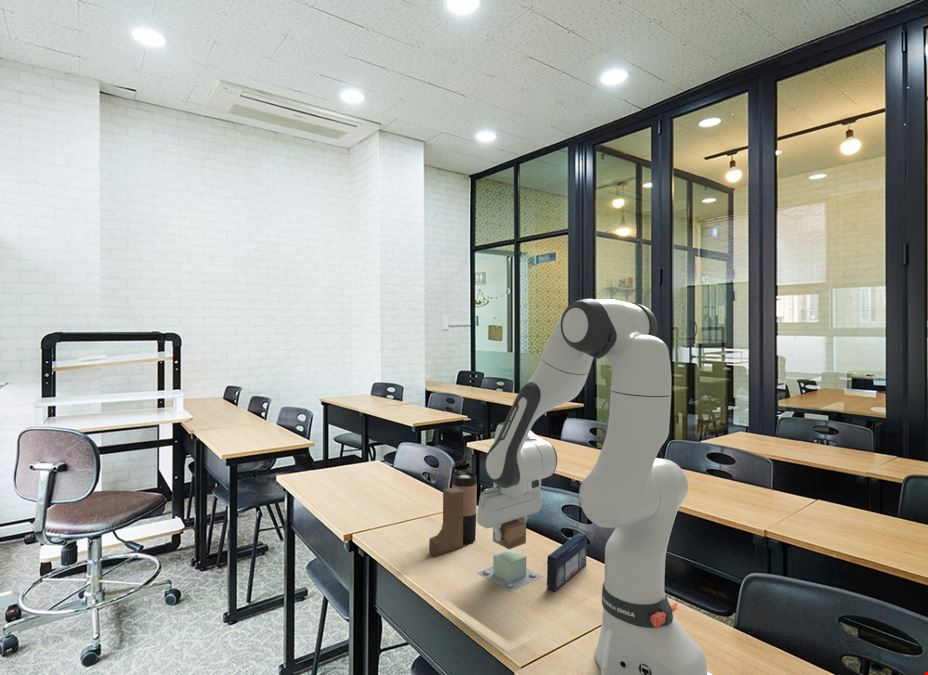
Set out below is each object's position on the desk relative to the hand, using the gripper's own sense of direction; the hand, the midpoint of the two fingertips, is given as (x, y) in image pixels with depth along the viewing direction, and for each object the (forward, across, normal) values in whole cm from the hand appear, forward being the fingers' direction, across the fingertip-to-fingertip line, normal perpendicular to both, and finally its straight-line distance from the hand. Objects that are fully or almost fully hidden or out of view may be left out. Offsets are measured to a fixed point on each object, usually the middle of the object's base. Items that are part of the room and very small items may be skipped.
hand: (509, 536), depth 130 cm
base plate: (+11, 0, 0) cm, 11 cm away
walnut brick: (+2, 0, 0) cm, 2 cm away
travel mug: (+12, +7, +27) cm, 30 cm away
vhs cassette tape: (+12, +11, -10) cm, 19 cm away
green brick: (+10, 0, 0) cm, 10 cm away
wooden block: (+12, -3, +23) cm, 26 cm away
